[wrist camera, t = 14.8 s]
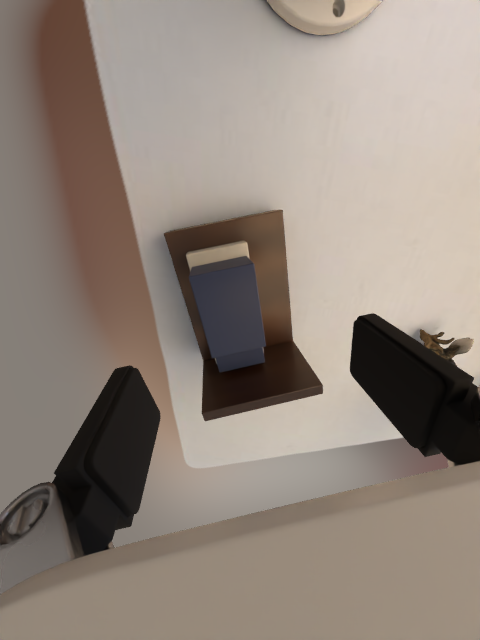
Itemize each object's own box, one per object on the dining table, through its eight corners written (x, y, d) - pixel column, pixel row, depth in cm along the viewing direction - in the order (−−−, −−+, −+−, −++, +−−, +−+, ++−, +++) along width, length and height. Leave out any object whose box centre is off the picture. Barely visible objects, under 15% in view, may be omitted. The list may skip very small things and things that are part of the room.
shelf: (169, 230, 20) (139, 243, 11) (273, 210, 21) (321, 206, 12) (205, 352, 27) (204, 421, 18) (285, 334, 27) (323, 393, 18)
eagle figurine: (386, 348, 29) (397, 402, 31) (462, 357, 23) (469, 422, 25) (407, 321, 32) (416, 371, 35) (477, 322, 26) (482, 383, 29)
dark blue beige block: (187, 252, 19) (181, 262, 14) (244, 240, 19) (254, 247, 15) (215, 355, 24) (217, 386, 19) (261, 345, 24) (272, 373, 20)
